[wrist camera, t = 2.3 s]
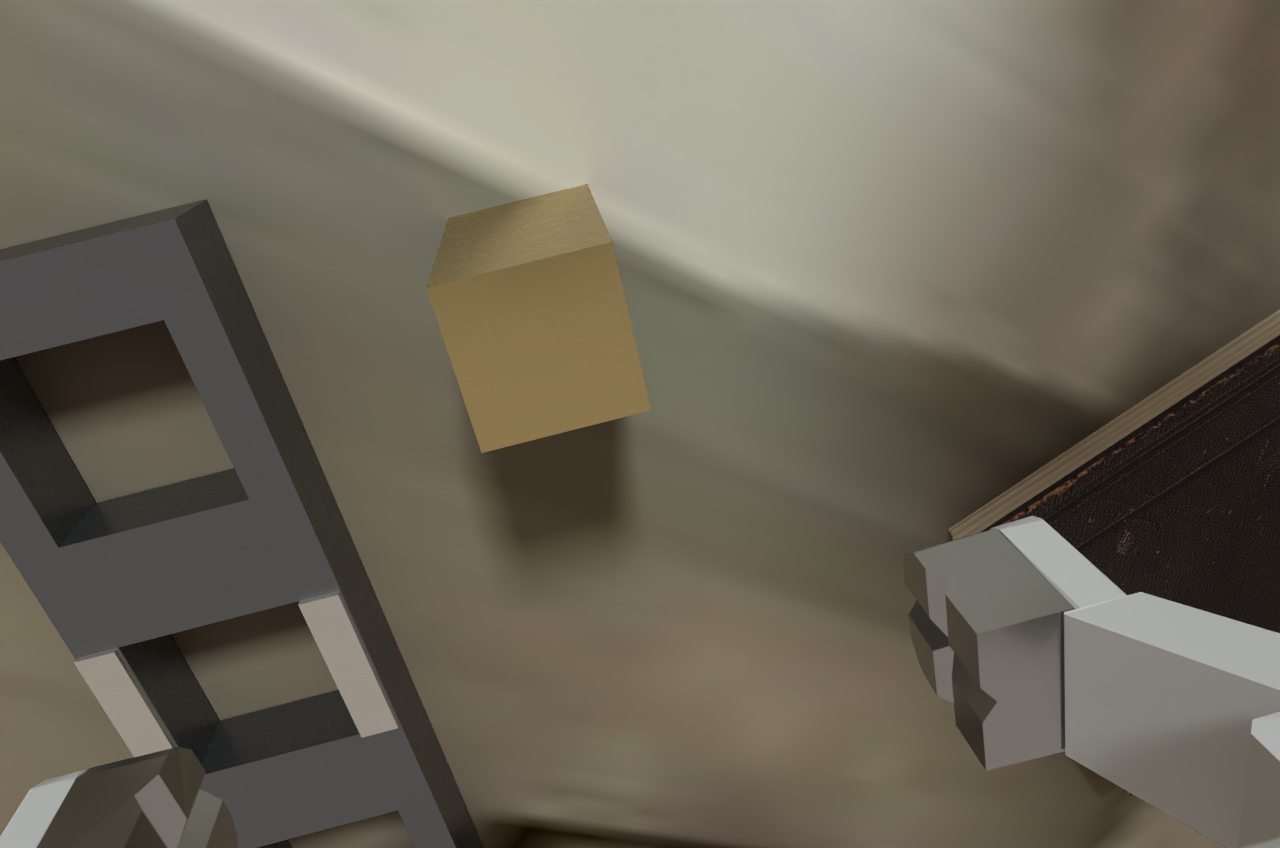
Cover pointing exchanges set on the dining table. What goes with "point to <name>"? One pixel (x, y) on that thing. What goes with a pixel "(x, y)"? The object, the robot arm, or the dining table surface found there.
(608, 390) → the block
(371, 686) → the grey slotted tray
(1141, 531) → the hardcover book
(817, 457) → the dining table surface
